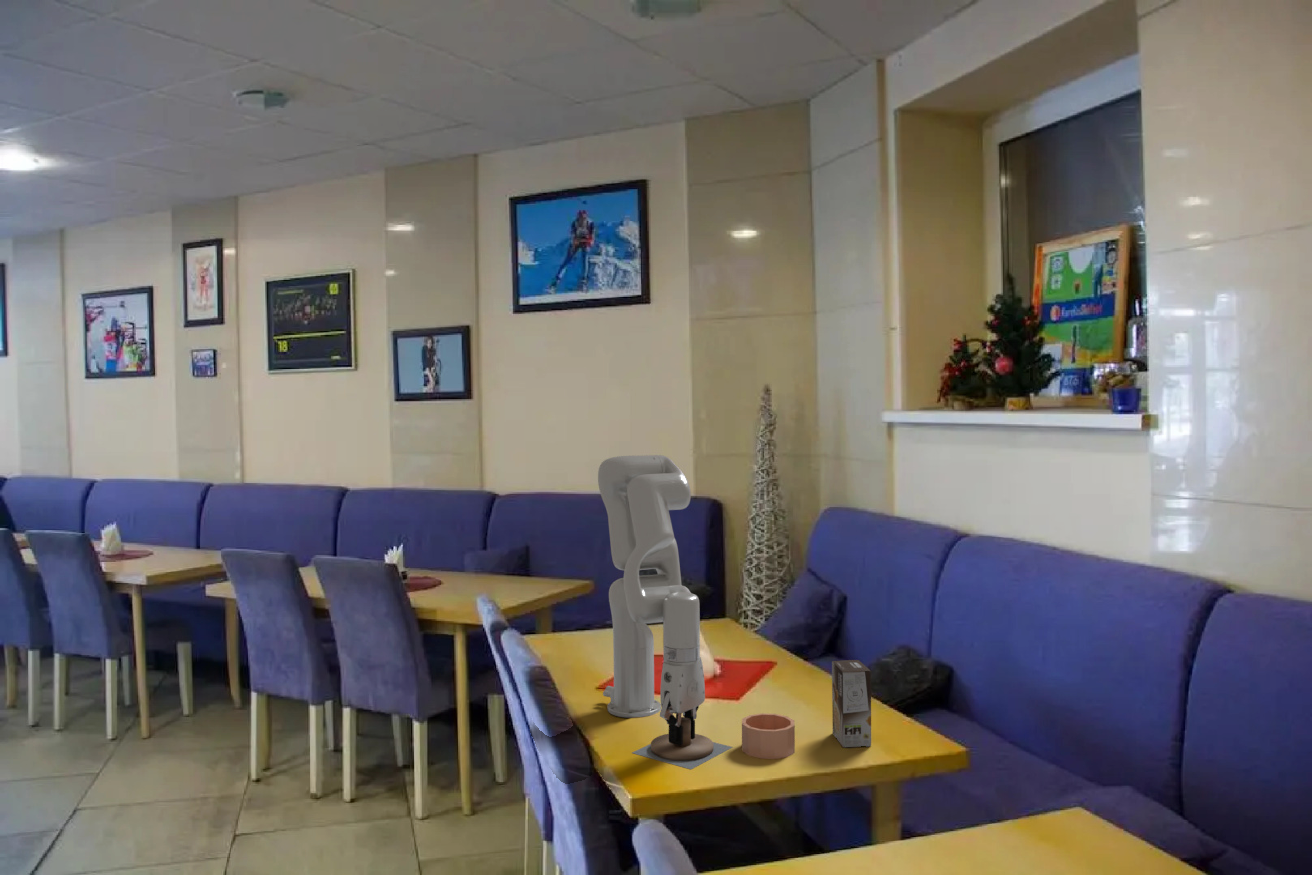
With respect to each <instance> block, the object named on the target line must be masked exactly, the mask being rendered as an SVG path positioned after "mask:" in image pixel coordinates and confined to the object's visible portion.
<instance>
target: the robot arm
mask: <svg viewBox="0 0 1312 875" xmlns="http://www.w3.org/2000/svg"><path fill="white" fill-rule="evenodd" d="M597 485H598V489H599V493H600V496H601V499H602V502H603V504H604V507H605V509H606V513H607V519H608V520H607V521H608V531H609V532H608V533H609V541H610V542H609V543H610V553H611V558H612V563H613V565H614V567H615V568H616V569H617V570H620V571H623V577H620V578H618V579H616V580H615V581H613V582H612V583H611V585H610V586H609V590H608V602H609V608H610V613H611V619H612V620H611V621H612V636H613V637H612V639H613V640H612V642H613V686H611V685H606V687H605V689H604V690H603V692H602V695H603V696H604V697H607V698H610V702H609V703H608V704H607V712H608V713H609V714H611V715H613V716H615V717H619V718H628V719H632V718H644V717H650V716H654V715H655V714H658V713H659V717H660V718H662V719H664V720H665V721H666V724H667V725H668V734H669V742H670V743H673V744H676V745H682V744H683V726H681V717H686V718H689V719H690V720H691V739H694V738H695V734H696V719H697V715H698V714H697V711H698V709H699V706H701V705H702V704H703V703H704V702H705V699H706V693H705V692H706V690H705V689H706V685H705V672H704V665H703V662H702V657H701V654H700V653H701V652H700V651H701V650H700V649H701V648H700V646H701V642H700V641H701V640H700V637H701V636H700V635H701V633H700V632H701V631H700V630H701V629H700V624H701V622H700V621H701V620H700V617H701V616H700V612H701V611H700V599H699V596H698V595H697V594H694V593H692V592H691V591H690V589H689V588H688V587H686V586H685V585H682V575H681V567H680V566H681V565H680V556H679V549H678V548H679V547H678V544H677V539H676V538H675V534H674V529H673V524H672V519H671V516H670V511H676V510H677V511H678V510H679V511H680V510H684V509H686V508H687V507H688V506H689V505H690V502H691V498H692V497H691V496H692V495H691V493H692V492H691V487H690V483H689V481H688V478H687V477H686V475H685V473H683V471H682V470H681V469H680V468H679V466H677V465H676V464H675V463H674V461H673V460H672V459H671V458H669V457H668V456H666V455H661V454H660V455H658V454H655V455H653V454H652V455H651V454H648V455H647V454H646V455H620V456H619V455H618V456H613V457H609V458H606V459H604V460H603V461H602V462H601V463H600V465H599V468H598V471H597ZM643 570H656V572H657V574H648V575H647V574H646V575H645V574H644V575H640V571H643ZM655 623H656V624H657V623H663V624H662V626H663V627H662V630H663V632H662V633H663V635H662V636H663V638H662V639H663V640H662V642H663V643H662V644H663V647H662V648H663V664H662V670H661V676H660V677H661V678H660V696H659V698H660V702H659V701H658V700H657V699H655V645H654V644H655V640H654V639H655V638H654V633H653V632H652V629H651V628H650V627H649V626H648V624H655ZM674 714H675V715H674Z"/></svg>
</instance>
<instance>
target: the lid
mask: <svg viewBox="0 0 1312 875" xmlns="http://www.w3.org/2000/svg"><path fill="white" fill-rule="evenodd" d="M681 726H683V744H682V745H676V744H673V743H670V742H669V733H667V734H666V733H665V734H662V735H658V736H656V737H654V738H653V739H652V740H651V742H650V744H651V751H652V752H653V753H654V754H655V755H657V756H659V757H661V758H665V759H669V760H679V761H686V760H696V759H700V758H704V757H706V756H708V755H710V754H711V753H712V752H713V742H714V741H713V740H712V739H710V738H709V737H707V736H704V735H701V734H698V733H695V738H694V739H691V720H690V719H689V718H686V717H684V716H681Z"/></svg>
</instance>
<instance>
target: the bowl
mask: <svg viewBox="0 0 1312 875" xmlns="http://www.w3.org/2000/svg"><path fill="white" fill-rule="evenodd" d="M795 727H796V726H795V719H793V718H790V717H789V716H787V715H784V714H783V715H781V714H778V713H764V712H762V713H757V714H755V713H754V714H749V715H747V716H745V717H743V718H742V719H741V751H742V752H743V753H744V754H745V755H746V756H747V755H748V756H750V757H753V758H757V759H762V760H763V759H767V760H768V759H769V760H777V759H783V758H788V757H790V756H791V755H793V754H795V752H796V749H795V748H796V747H795V746H796V744H795V742H796V741H795V740H796V739H795V737H796V735H795V734H796V732H795Z"/></svg>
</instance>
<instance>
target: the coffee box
mask: <svg viewBox="0 0 1312 875" xmlns="http://www.w3.org/2000/svg"><path fill="white" fill-rule="evenodd" d="M831 687H832V688H831V692H832V693H831V694H832V700H831V702H832V734H833V736H834V737H835V739H836V738H837V739H836V740H837V742H839V744H840V745H841V746H842V747H843V748H858V747H859V748H861V746H866V747H871V746H872V671H871V670H870V668H868V667H867V666H866V665H865V664H864V663H863V662H862V661H861V660H859V659H848V660H847V659H845V660H832V661H831Z"/></svg>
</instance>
